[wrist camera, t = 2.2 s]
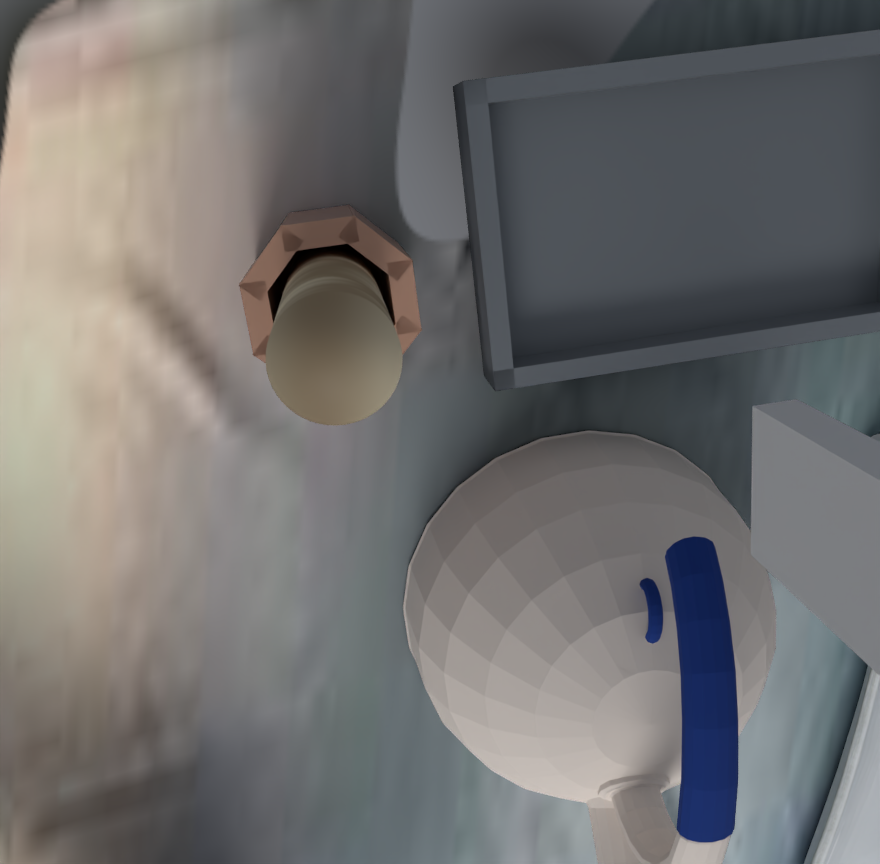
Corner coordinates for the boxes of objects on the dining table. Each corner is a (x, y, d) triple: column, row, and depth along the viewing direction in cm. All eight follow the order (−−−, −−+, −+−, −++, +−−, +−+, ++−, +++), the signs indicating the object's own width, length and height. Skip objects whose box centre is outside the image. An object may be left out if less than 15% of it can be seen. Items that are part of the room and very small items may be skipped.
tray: (484, 375, 43) (495, 391, 40) (452, 86, 38) (463, 81, 35) (881, 314, 45) (918, 325, 42) (897, 31, 40) (940, 22, 37)
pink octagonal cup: (274, 358, 41) (262, 403, 34) (246, 217, 39) (227, 232, 31) (409, 337, 42) (428, 377, 34) (390, 198, 39) (405, 207, 32)
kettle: (403, 756, 50) (444, 1065, 33) (400, 432, 43) (448, 609, 26) (720, 729, 52) (910, 1003, 35) (762, 419, 46) (1019, 573, 29)
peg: (297, 330, 40) (279, 434, 25) (281, 246, 38) (253, 303, 23) (378, 317, 40) (411, 414, 25) (366, 234, 39) (392, 283, 24)
